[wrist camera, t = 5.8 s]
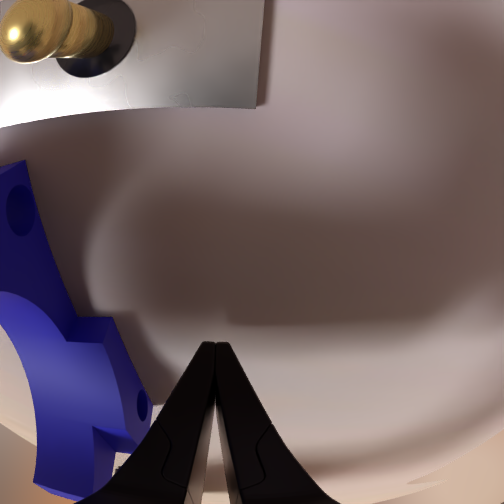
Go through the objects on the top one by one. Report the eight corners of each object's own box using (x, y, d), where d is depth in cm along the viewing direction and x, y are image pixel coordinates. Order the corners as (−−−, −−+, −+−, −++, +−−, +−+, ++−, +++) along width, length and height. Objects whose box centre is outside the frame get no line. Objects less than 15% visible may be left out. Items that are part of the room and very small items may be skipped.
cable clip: (153, 402, 14) (140, 514, 9) (76, 395, 14) (50, 493, 8) (66, 148, 7) (-90, 268, 2) (-29, 175, 7) (-146, 272, 2)
